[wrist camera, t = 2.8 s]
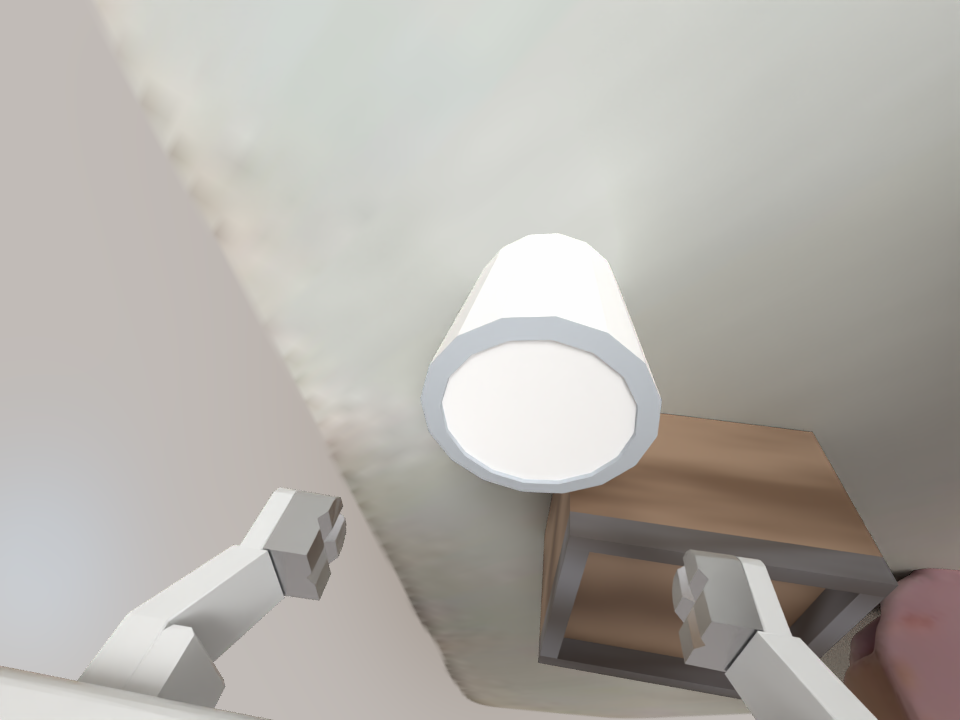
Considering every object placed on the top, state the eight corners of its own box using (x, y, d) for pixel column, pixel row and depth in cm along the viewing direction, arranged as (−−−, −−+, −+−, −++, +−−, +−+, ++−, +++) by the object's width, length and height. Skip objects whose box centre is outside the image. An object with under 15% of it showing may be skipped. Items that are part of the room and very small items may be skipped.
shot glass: (458, 355, 22) (420, 477, 16) (466, 205, 17) (418, 299, 12) (612, 378, 21) (626, 513, 15) (658, 228, 17) (700, 339, 11)
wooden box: (570, 402, 22) (570, 535, 17) (812, 431, 21) (898, 585, 16) (544, 534, 29) (538, 662, 23) (729, 562, 27) (769, 704, 22)
